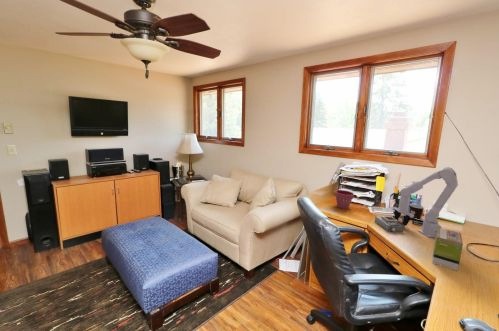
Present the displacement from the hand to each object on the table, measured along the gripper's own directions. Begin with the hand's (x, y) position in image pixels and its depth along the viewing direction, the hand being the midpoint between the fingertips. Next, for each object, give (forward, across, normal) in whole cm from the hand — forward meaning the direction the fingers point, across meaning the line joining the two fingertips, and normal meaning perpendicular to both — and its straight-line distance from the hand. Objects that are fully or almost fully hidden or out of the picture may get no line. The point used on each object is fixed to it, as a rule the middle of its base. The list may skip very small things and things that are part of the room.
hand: (401, 223), depth 160 cm
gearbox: (+2, +1, +10) cm, 10 cm away
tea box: (+2, -40, +15) cm, 42 cm away
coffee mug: (+2, +10, -22) cm, 24 cm away
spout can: (+2, 0, 0) cm, 2 cm away
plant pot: (+2, +40, +17) cm, 43 cm away
